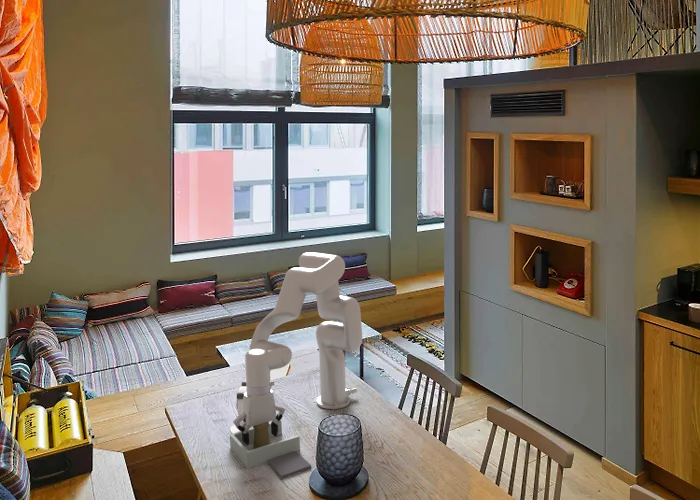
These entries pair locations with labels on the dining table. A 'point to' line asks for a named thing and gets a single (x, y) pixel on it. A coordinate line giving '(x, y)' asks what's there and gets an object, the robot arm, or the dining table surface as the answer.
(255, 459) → the box
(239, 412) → the white upright piece
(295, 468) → the charcoal mat
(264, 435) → the cork
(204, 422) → the dining table surface
